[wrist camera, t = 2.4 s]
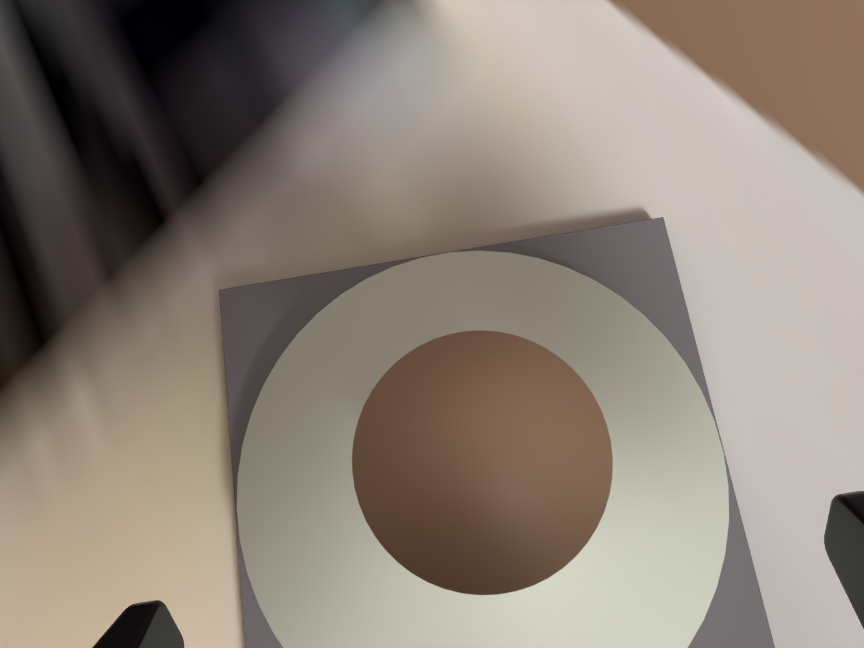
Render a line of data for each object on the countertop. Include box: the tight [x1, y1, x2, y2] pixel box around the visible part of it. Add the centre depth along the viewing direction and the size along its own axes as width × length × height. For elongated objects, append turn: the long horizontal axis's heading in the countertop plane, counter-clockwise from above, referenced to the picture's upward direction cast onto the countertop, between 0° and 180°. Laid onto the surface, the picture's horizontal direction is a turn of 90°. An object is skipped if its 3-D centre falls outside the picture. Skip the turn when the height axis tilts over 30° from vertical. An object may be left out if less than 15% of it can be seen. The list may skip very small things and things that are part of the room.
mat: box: [219, 217, 775, 648], centre depth 18 cm, size 13×13×1 cm
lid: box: [237, 251, 729, 648], centre depth 13 cm, size 12×12×10 cm
